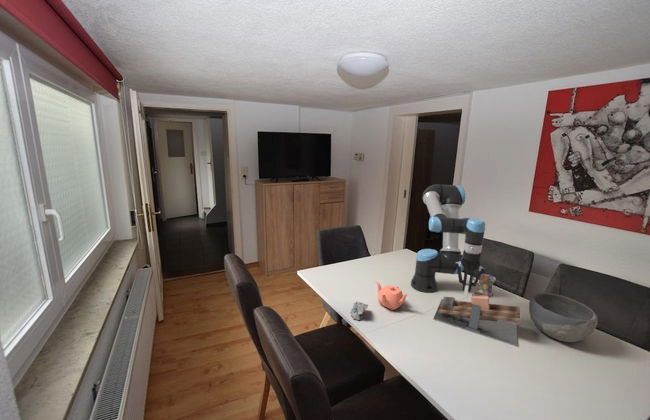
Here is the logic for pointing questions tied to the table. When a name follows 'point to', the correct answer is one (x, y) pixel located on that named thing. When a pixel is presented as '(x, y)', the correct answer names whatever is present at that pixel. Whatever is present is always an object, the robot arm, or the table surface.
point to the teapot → (390, 296)
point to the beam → (494, 314)
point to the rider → (481, 301)
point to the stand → (481, 325)
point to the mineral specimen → (358, 310)
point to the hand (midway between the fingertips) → (465, 297)
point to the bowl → (562, 317)
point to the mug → (485, 284)
